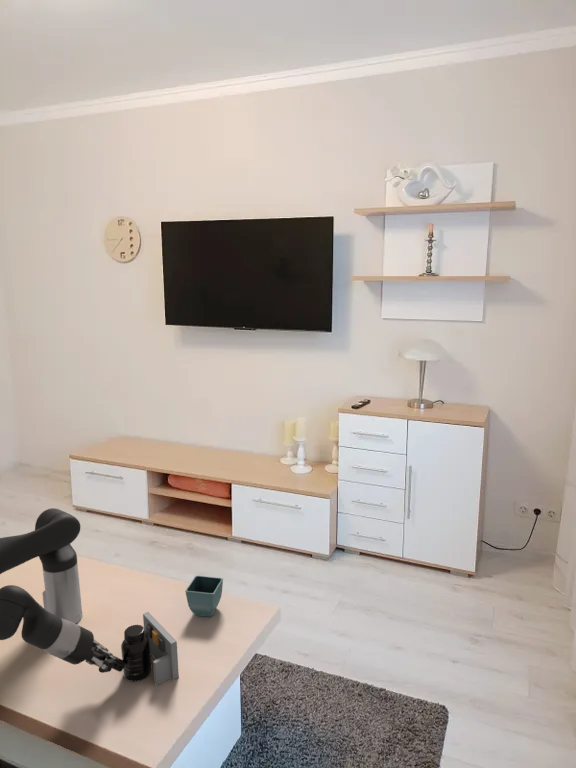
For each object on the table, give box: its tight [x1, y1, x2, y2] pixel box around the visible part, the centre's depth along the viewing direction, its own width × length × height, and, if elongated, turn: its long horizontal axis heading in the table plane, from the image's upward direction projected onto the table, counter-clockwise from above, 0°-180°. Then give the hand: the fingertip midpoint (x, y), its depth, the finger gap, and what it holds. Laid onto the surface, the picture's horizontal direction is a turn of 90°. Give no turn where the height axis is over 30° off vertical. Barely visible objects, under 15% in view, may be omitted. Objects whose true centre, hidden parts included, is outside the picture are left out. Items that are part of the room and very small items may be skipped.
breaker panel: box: [142, 611, 180, 686], centre depth 144 cm, size 6×16×10 cm, turn 38°
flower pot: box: [185, 575, 224, 618], centre depth 166 cm, size 9×9×9 cm
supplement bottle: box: [120, 624, 152, 683], centre depth 141 cm, size 7×7×12 cm
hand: (122, 666), depth 138 cm, fingers closed
